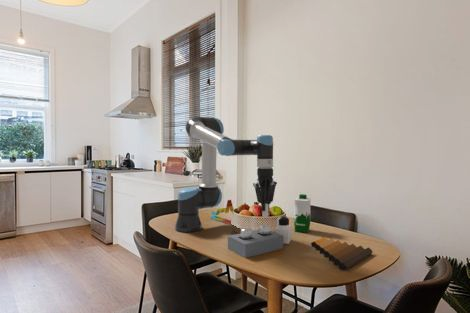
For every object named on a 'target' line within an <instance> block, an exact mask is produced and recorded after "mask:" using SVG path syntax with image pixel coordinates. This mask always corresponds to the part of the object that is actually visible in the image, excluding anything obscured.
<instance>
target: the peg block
mask: <svg viewBox="0 0 470 313" xmlns="http://www.w3.org/2000/svg"><path fill="white" fill-rule="evenodd" d="M283 237H284V236H283V235H280V234H278V233H275V231H271V230H270V235H268V236H262V235H260V229H256V230H252V239H250V240H242V239H241V232H240V233H236V234H231V235H227V249H228V250H230V251H231V252H234V253H235V254H237V255H238V256H241V257H242V258H245V259H247V258H252V257H255V256H259V255H262V254H267V253H270V252H274V251H277V250H283V249H284V243H283Z"/></svg>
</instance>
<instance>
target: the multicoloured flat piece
mask: <svg viewBox="0 0 470 313" xmlns="http://www.w3.org/2000/svg"><path fill="white" fill-rule="evenodd" d="M226 202H227V203H226V207H224V208H217V211H216V212H215V211H210V213H211V214H212V215H210V219H211V220H213V221H216V222H220V223H222V224H226V225H229V226H232V224H231V221H232V220H230V219H226V218H224V217H220V216H219V214H220V213H225V214H227V213H229V212H231V213H232V214H234V213H233V211H235V209H234V206H233V203H232V202H233V201H232V199H228V200H226Z"/></svg>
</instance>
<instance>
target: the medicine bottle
mask: <svg viewBox="0 0 470 313" xmlns="http://www.w3.org/2000/svg"><path fill="white" fill-rule="evenodd" d="M274 232H275V233H278V234H280V235H283V236H284V237H283V245H284V244H285V245H286V244H287V245H289V244H290V242H291V240H292V226H291V225H290V219H289V218H288V217H287V216H279V217H277V218H276V227H274Z"/></svg>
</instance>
